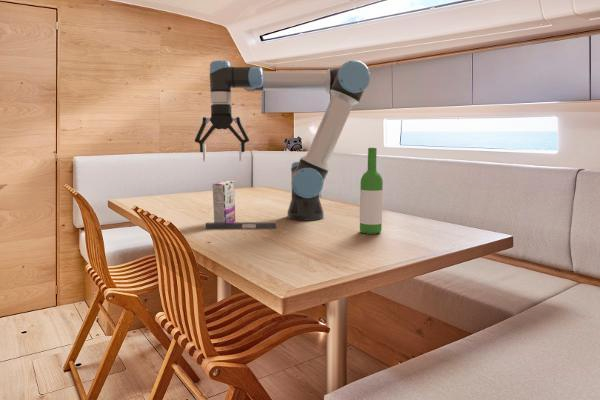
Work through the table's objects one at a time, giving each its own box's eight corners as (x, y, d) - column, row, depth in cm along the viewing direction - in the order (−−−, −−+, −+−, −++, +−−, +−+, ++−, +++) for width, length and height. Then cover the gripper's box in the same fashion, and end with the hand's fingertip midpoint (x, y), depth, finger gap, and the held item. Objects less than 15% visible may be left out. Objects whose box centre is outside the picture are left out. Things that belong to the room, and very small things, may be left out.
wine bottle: (368, 235, 161) (369, 148, 156) (355, 231, 168) (356, 147, 163) (386, 233, 165) (388, 148, 160) (372, 229, 171) (374, 147, 167)
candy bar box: (223, 221, 187) (222, 180, 184) (235, 221, 186) (234, 180, 183) (213, 226, 176) (211, 183, 173) (225, 227, 175) (224, 184, 172)
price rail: (276, 227, 175) (276, 222, 175) (276, 228, 173) (276, 223, 172) (206, 227, 174) (206, 222, 174) (205, 229, 172) (205, 223, 171)
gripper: (255, 104, 178) (256, 160, 181) (189, 104, 177) (191, 160, 180) (254, 103, 171) (255, 161, 174) (185, 103, 170) (187, 162, 173)
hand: (222, 161), depth 177 cm, fingers open, 13 cm apart
